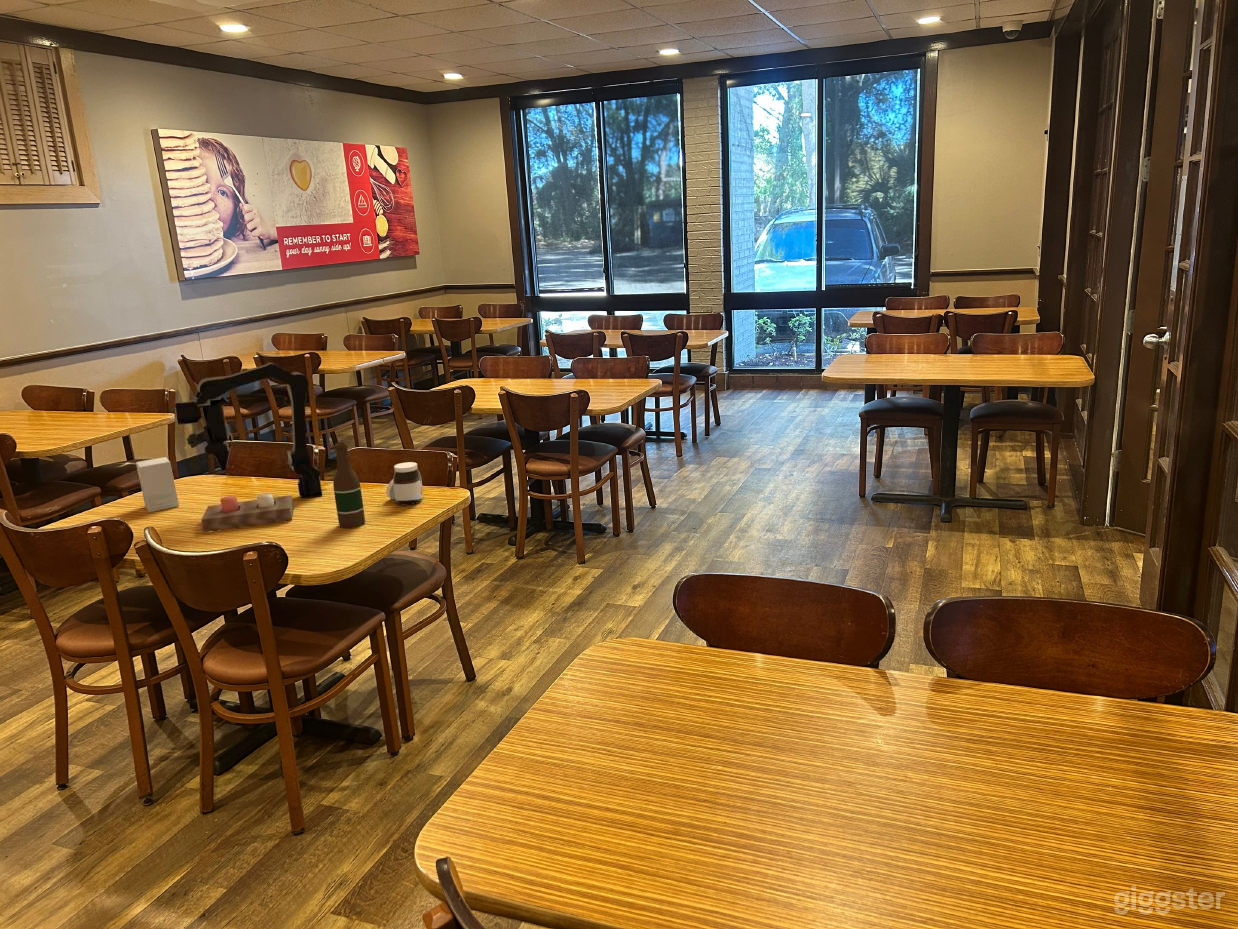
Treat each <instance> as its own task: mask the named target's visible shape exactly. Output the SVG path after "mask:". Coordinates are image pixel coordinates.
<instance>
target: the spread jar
mask: <svg viewBox="0 0 1238 929" xmlns="http://www.w3.org/2000/svg"><path fill="white" fill-rule="evenodd" d="M393 469H394V475H393V479H391V481H390V482H389V483H388V485H387V487H386V489H385V490H386V491H385V495H386V496H387V498H389V499H391V500H395V501H396V503H397V504H399V505H401V504H411V505H414V504H413V503H416V504H418V502H419V503H421V501H422V500H423V496H424V495H423V494H424V491H423V484H422V483H423V482H422V481H423V480H422V476H421V472H420V471H419V469H418V463H416V462H414V461H413V462H412V461H411V462H409V461H408V462H402V463H397V464H395V465H394V466H393Z"/></svg>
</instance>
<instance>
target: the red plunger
mask: <svg viewBox="0 0 1238 929" xmlns="http://www.w3.org/2000/svg"><path fill="white" fill-rule="evenodd" d="M237 498H238V497H237V495H228V496H224V497H221V498H220V499H219V501H220V505H221V507H222V512H223V513H225V512H233V511H239V509H238V504H237V502H238V499H237Z"/></svg>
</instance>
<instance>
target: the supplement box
mask: <svg viewBox="0 0 1238 929" xmlns="http://www.w3.org/2000/svg"><path fill="white" fill-rule="evenodd" d="M135 464H136V470H137V474H138V479H139V483H140V489H141V493H142V498H143V503H144V507H145V509H146V510H147V512H148V513H153V512H158V511H163V510H167V509H173V508H177V507H180V502H179V498H178V493H177V488H176V483H175V478H174V474H173V470H172V469H173V467H172V464H171V461H170V460H169V459H168V458H167V457H166V456H165V457H159V458H153V459H147V460H141V461H136V462H135Z"/></svg>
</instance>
